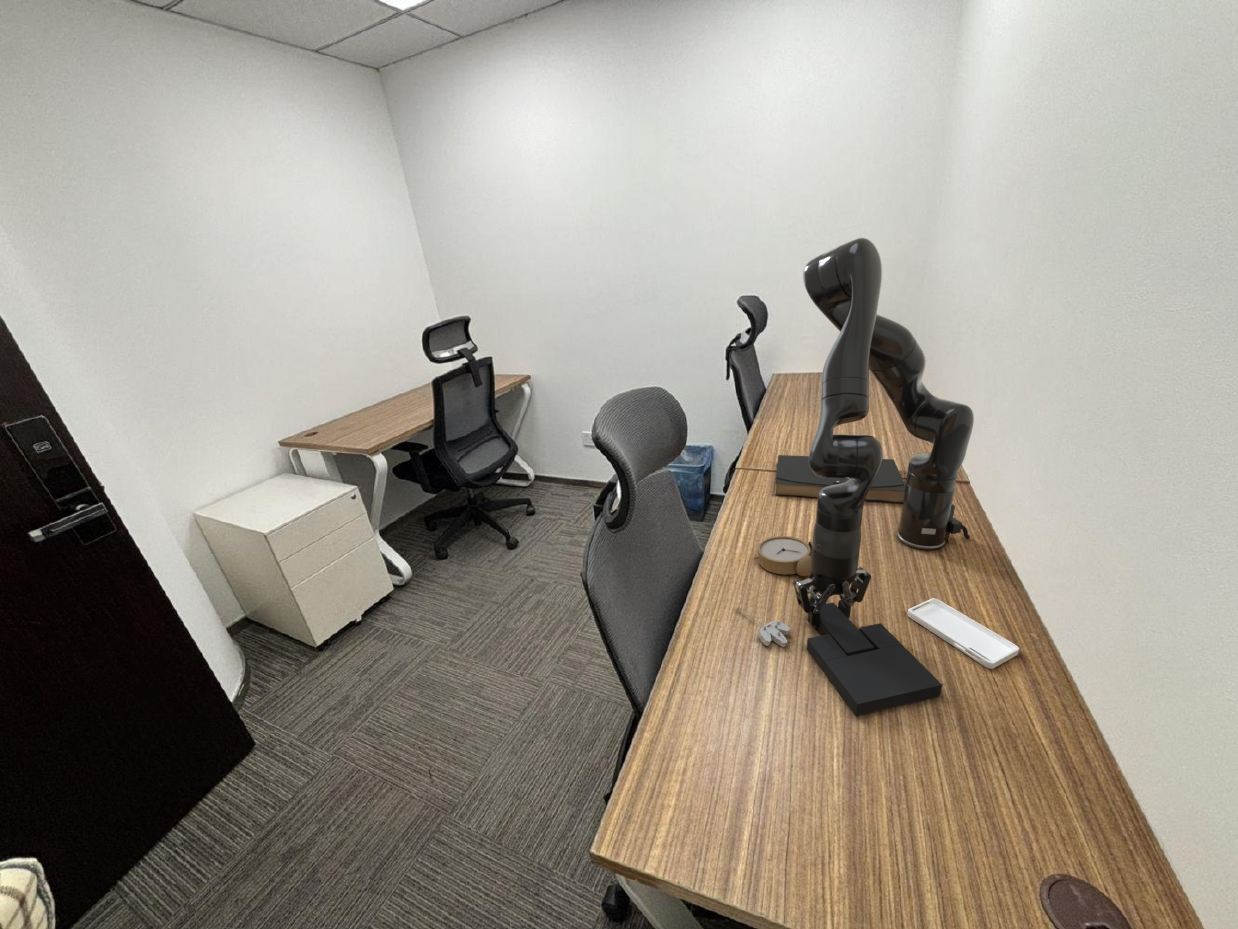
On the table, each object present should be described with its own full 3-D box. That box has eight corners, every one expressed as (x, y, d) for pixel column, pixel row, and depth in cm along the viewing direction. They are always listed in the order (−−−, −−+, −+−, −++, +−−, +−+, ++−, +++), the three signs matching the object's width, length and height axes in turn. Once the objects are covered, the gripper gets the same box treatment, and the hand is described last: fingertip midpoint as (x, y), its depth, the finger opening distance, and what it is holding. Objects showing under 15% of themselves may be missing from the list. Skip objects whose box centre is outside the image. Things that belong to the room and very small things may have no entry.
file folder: (775, 482, 137) (778, 452, 158) (774, 495, 138) (778, 463, 159) (908, 490, 126) (892, 456, 147) (906, 504, 128) (891, 468, 148)
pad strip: (807, 617, 92) (808, 606, 91) (832, 612, 93) (833, 602, 92) (845, 664, 81) (847, 652, 80) (872, 658, 82) (874, 647, 81)
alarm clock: (765, 532, 116) (832, 537, 107) (768, 550, 117) (834, 556, 108) (748, 556, 107) (820, 563, 98) (752, 576, 109) (822, 584, 100)
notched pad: (879, 634, 87) (880, 623, 86) (939, 696, 74) (942, 684, 73) (806, 649, 85) (807, 638, 84) (855, 716, 72) (857, 704, 71)
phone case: (1019, 654, 80) (933, 602, 93) (1021, 647, 79) (934, 596, 92) (990, 670, 78) (905, 615, 90) (991, 664, 77) (906, 609, 90)
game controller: (781, 654, 84) (781, 642, 84) (722, 627, 92) (722, 616, 91) (794, 635, 88) (795, 624, 87) (737, 611, 96) (737, 600, 95)
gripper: (860, 527, 88) (851, 603, 94) (786, 540, 86) (782, 616, 93) (888, 549, 81) (876, 629, 87) (808, 563, 79) (802, 644, 86)
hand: (827, 622), depth 90 cm, fingers closed on pad strip, 5 cm apart
